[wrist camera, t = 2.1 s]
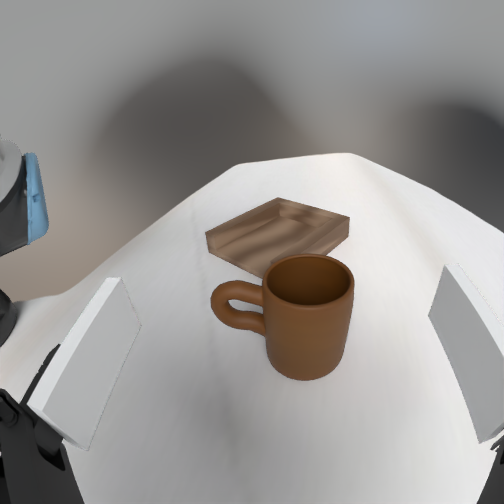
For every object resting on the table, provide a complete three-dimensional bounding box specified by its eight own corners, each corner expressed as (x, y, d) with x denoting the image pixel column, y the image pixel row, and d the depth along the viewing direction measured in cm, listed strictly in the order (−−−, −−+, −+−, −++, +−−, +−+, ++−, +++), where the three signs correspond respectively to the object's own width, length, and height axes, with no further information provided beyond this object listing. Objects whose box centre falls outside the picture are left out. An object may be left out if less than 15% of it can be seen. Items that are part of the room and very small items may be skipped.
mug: (218, 385, 25) (196, 313, 20) (227, 328, 32) (213, 255, 27) (348, 380, 24) (367, 306, 19) (336, 323, 30) (345, 249, 26)
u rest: (208, 252, 46) (205, 232, 44) (278, 214, 56) (277, 197, 54) (283, 289, 36) (283, 266, 35) (348, 236, 46) (349, 217, 45)
